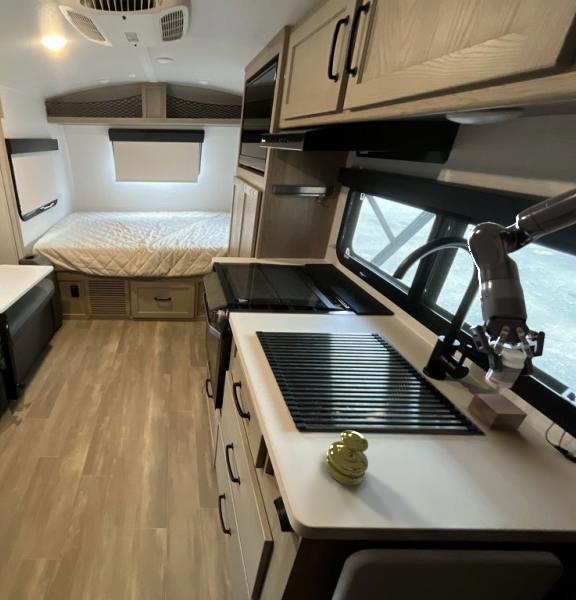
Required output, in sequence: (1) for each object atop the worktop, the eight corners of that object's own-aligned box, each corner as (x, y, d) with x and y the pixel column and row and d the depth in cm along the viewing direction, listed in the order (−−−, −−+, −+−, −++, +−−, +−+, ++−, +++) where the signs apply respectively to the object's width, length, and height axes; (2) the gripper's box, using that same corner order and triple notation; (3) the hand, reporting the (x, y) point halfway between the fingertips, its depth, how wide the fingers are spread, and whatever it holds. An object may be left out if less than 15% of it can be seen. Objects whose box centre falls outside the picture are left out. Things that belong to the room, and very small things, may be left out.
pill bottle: (516, 390, 75) (535, 360, 71) (493, 387, 76) (510, 358, 72) (502, 376, 79) (519, 347, 75) (480, 374, 80) (495, 345, 76)
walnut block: (517, 429, 82) (527, 414, 79) (489, 428, 82) (498, 413, 79) (493, 408, 88) (502, 394, 86) (467, 407, 88) (475, 393, 86)
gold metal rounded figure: (317, 455, 73) (328, 422, 68) (349, 453, 74) (362, 420, 69) (335, 487, 66) (348, 453, 62) (370, 485, 67) (385, 450, 63)
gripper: (478, 293, 77) (487, 367, 72) (552, 299, 74) (566, 376, 69) (457, 303, 84) (464, 371, 79) (523, 308, 81) (535, 379, 76)
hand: (511, 373), depth 74 cm, fingers closed on pill bottle, 4 cm apart
